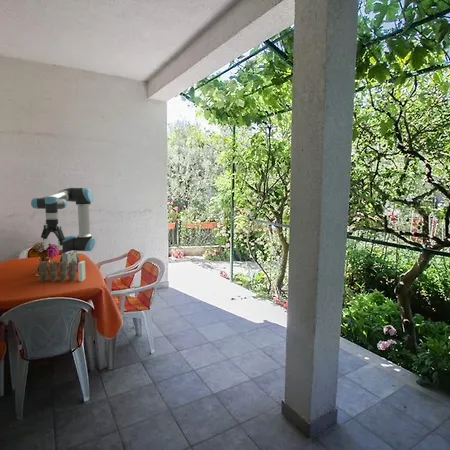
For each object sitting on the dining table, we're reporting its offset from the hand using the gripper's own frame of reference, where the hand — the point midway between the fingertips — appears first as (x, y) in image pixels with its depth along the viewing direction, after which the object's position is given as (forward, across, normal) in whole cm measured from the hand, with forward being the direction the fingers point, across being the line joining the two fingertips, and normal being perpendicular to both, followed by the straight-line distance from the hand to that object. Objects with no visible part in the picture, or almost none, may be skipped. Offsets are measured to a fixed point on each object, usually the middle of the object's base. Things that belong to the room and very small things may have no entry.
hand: (53, 248), depth 219 cm
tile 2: (+22, -1, -1) cm, 23 cm away
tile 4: (+22, +11, +6) cm, 26 cm away
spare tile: (+22, +17, +9) cm, 29 cm away
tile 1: (+22, -6, -4) cm, 24 cm away
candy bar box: (+23, -6, +18) cm, 30 cm away
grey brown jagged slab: (+22, +5, +2) cm, 23 cm away
